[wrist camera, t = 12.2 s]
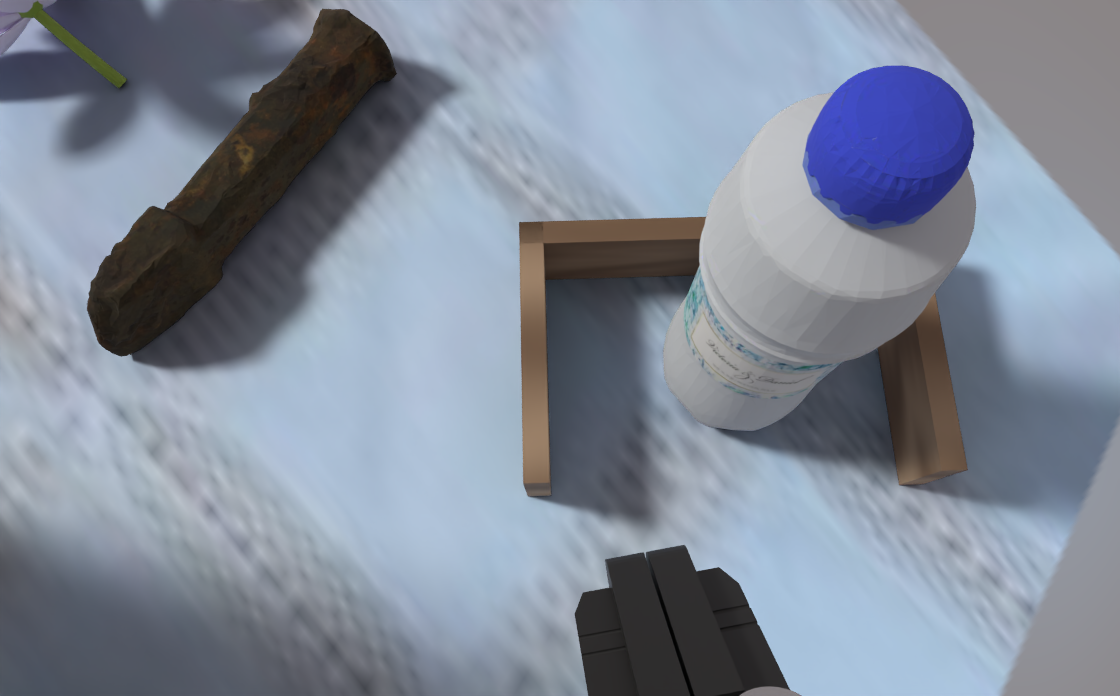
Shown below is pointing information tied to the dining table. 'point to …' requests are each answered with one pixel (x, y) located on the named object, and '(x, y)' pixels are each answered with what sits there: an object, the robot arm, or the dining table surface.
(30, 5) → the water lily
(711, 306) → the bottle
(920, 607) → the dining table surface
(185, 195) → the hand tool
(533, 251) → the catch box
